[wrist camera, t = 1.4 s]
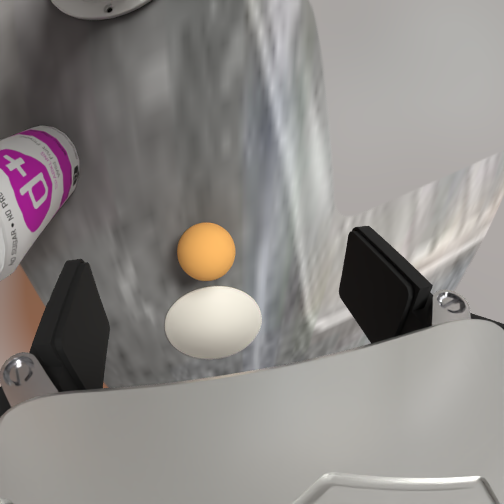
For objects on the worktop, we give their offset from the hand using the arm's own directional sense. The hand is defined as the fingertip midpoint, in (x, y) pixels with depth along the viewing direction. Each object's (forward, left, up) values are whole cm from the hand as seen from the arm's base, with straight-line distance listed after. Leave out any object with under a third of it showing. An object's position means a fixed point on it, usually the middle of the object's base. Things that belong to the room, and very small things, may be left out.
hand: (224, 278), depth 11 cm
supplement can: (-1, -15, -20) cm, 25 cm away
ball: (+9, 0, -17) cm, 20 cm away
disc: (+21, 0, -20) cm, 29 cm away
